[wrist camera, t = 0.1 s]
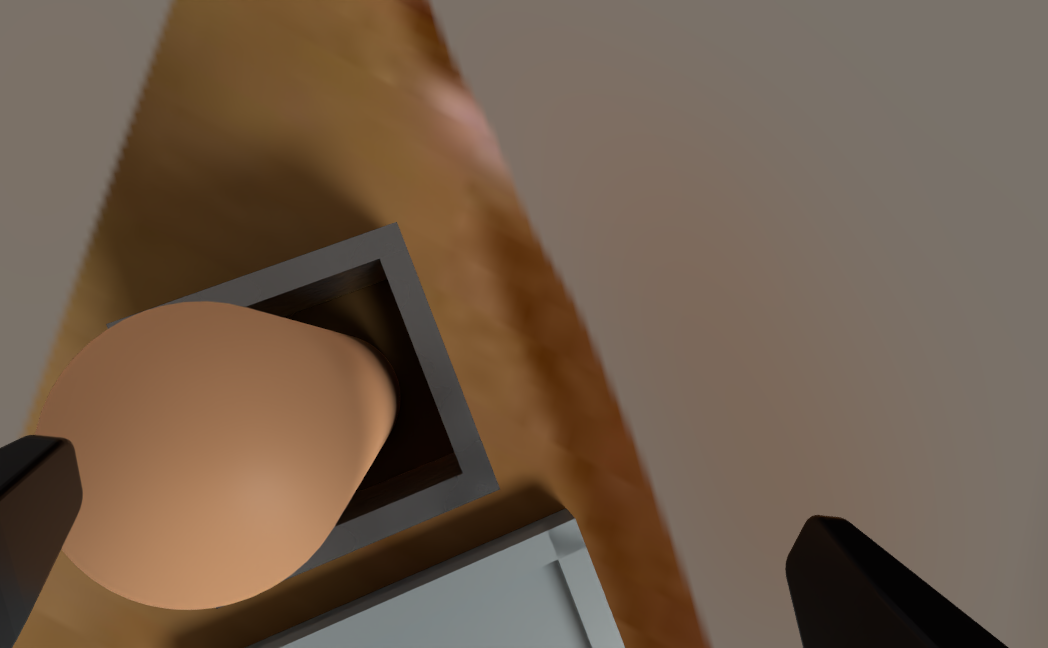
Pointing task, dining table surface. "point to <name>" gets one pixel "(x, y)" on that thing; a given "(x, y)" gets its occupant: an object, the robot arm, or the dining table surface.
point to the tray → (479, 600)
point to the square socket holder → (389, 259)
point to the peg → (215, 448)
